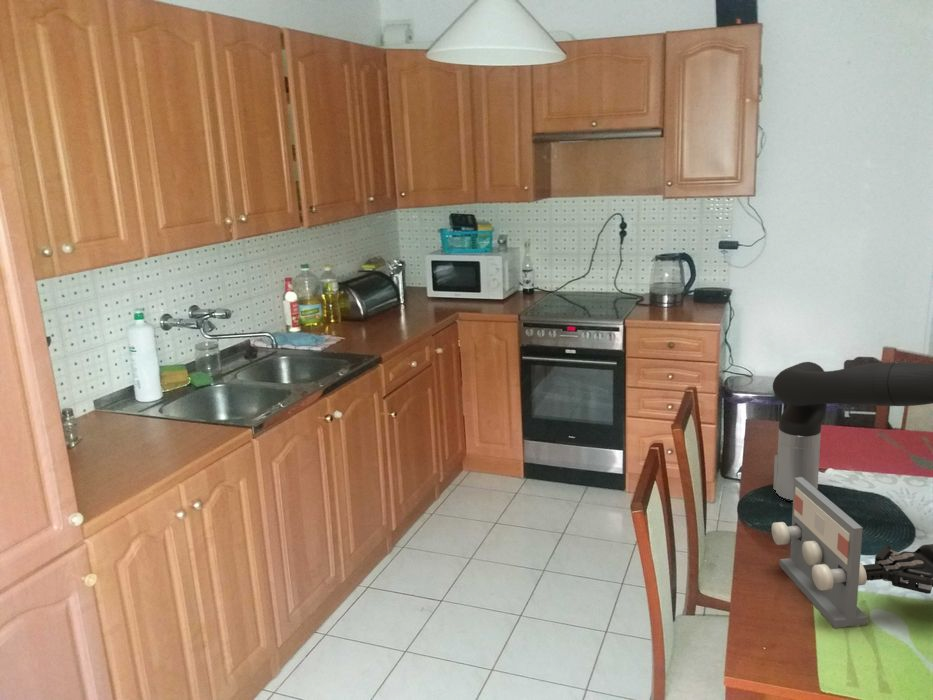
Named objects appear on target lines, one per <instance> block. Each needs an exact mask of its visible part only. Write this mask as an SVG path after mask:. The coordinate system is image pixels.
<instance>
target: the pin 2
mask: <svg viewBox="0 0 933 700" xmlns="http://www.w3.org/2000/svg"><path fill="white" fill-rule="evenodd" d="M863 565H864V564H862V562H860V569H859V582H858V586H865V585H866V584H867V581H868V580H867V575H866V571H865V568H864V567H863ZM812 578H813V581H814V584H815V586H816V587H817V588H818V589H819V590H830V589H832V588H833V583H840V582H846V581H847V572H846V571H845V570H844V569H843V568H838V569H830V568H829V567H828V566H827V565H826V564H820V565H814V566H813V568H812Z"/></svg>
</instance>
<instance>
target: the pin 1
mask: <svg viewBox="0 0 933 700" xmlns="http://www.w3.org/2000/svg"><path fill="white" fill-rule="evenodd" d="M771 535H772V538H773V541H774V543H775V544H776V545H777V546H785V545H788V544H789V543H790V542H791V539H793V538H802V528H801V527H800V526H799V525H797V526H792V525H789V526H788V525H787V523H785V522H784V521H778V522H773V523H772V524H771Z"/></svg>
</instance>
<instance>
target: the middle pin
mask: <svg viewBox="0 0 933 700" xmlns="http://www.w3.org/2000/svg"><path fill="white" fill-rule="evenodd" d="M802 552H803V557H804V559H805V561H806V563H807V564H808V565H819V564H821V562H822V559H823V548H822V547H820V546H819V544H818V543H817V542H816V541H805V542H804V543H803V545H802Z"/></svg>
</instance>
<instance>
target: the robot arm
mask: <svg viewBox="0 0 933 700" xmlns="http://www.w3.org/2000/svg"><path fill="white" fill-rule="evenodd" d="M772 391H773V393H774V395H775V397H776V398H777V399H778V400H779V401H780V402H781V403H783V404H785V405H786V408H785V409H784V411H783V412H782V414H780V416H779V420H778V439H777V440H778V441H777V443H778V444H777V454H774V461H773V462H774V463H773V464H774V465H773V486H772V487H773V488H772V490H773V489H774V490H776V492H775V494H776V493H777V494H778V495H779V496H781V497H783V498H786V499H790V500H793V493H794V478H797V477H803V478H804V479H805V480H806V481H807V482H809V483H810V484H811V485H812V486H813V487H815V488H816V489H817V490H818V485H819V484H818V483H819V473H820V472H819V470H820V453H821V438H822V437H821V434H822V425H823V423H824V420H825V419H826V414H827V405H828V404H837V405H838V404H840V405H841V404H842V405H851V406H852V405H853V406H854V405H857V406H876V407H877V406H880V407H912V406H913V407H914V406H924V405H932V404H933V363H927V362H911V361H903V362H902V361H891V362H889V361H887V362H875V363H874V362H873V363H867V364H861V365H856V366H855V365H854V366H850V367H847V368H846V367H845V368H842V369H841V368H840V369H837V370H828V371H826V370H824V368H822V366H820V365H819V364H817V363H816V362H811V361H804V362H800V363H796V364H795V365H792V366H789V367H787V368H785V369H783V370H781V371H780V372H779V373H778V374H777V375H776V376H775V378H774V379H773V382H772ZM774 490H773V491H774ZM862 565H863V567H864V568H865V571H866V575H867V581H877V580H879V581H881V580H882V581H884V582H891V585H892V586H894V587H897V588H901V589H905V590H910V591H914V592H917V593H918V592H919V593H923V594H928V595H930V594H931V593H932V588H933V543H931V544H930V543H929V544H923V545H921V546H919V548H917V549H916V550H915V551H907V550H906V551H905V550H904V551H901V552H898V551H895V550H893V546H892V545H889V544H887V545H884V547H882V549H881V550H880V551H879V552H878V553H877V554H876V555H875V558H874V563H870V564H862Z"/></svg>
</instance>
